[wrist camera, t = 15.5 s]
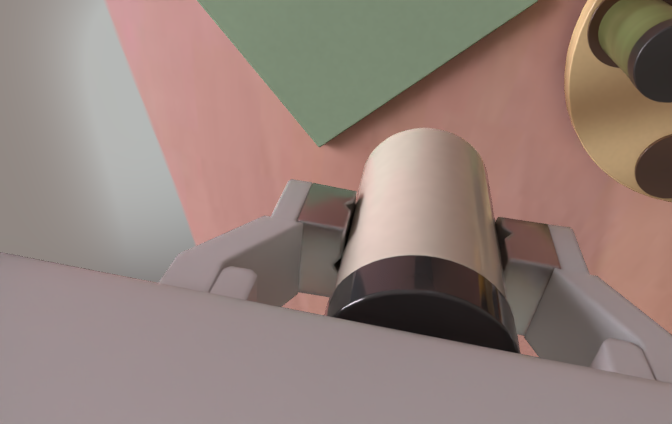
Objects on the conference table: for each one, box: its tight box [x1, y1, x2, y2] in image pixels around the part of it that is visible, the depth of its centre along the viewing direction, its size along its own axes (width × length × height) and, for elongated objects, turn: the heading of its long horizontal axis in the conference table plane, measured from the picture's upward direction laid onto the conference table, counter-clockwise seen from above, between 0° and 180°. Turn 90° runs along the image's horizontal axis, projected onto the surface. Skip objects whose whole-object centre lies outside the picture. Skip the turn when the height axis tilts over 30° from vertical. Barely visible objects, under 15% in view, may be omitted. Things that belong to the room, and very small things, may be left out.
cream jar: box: [324, 128, 521, 354], centre depth 11 cm, size 3×3×6 cm
